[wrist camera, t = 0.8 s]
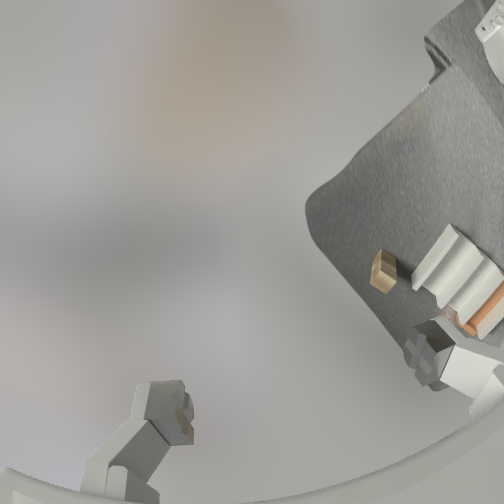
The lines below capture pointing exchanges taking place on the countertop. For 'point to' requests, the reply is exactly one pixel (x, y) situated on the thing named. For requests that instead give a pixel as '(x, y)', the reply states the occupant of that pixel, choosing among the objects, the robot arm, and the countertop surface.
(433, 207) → the countertop surface
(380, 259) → the block
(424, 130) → the countertop surface
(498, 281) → the rack
